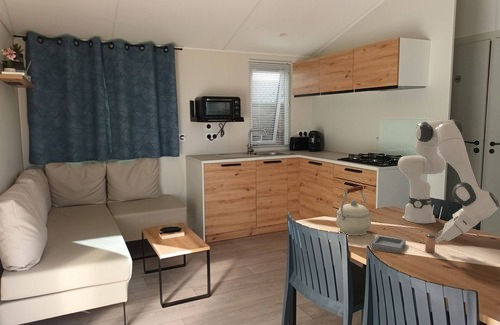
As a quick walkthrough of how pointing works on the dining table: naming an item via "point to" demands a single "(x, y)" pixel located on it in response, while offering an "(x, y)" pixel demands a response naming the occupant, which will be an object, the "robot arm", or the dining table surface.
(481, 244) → the dining table surface
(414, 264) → the dining table surface
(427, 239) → the terracotta jar
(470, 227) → the robot arm
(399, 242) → the tray
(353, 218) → the kettle
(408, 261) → the dining table surface
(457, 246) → the dining table surface
